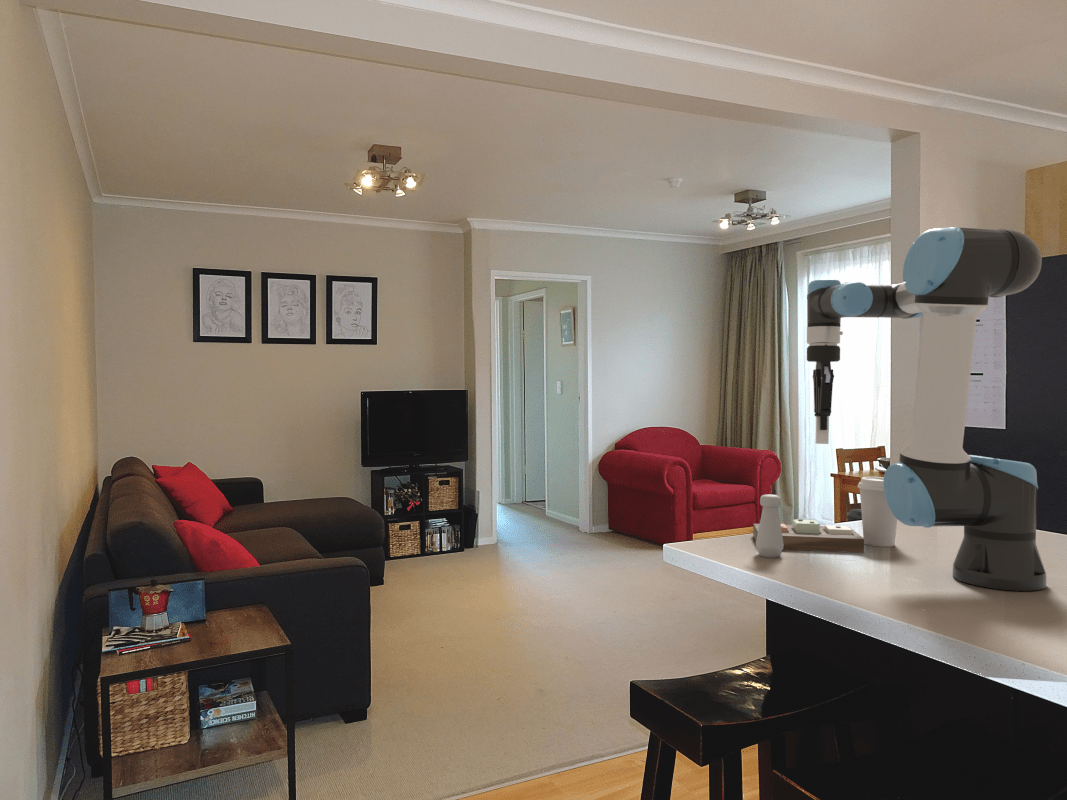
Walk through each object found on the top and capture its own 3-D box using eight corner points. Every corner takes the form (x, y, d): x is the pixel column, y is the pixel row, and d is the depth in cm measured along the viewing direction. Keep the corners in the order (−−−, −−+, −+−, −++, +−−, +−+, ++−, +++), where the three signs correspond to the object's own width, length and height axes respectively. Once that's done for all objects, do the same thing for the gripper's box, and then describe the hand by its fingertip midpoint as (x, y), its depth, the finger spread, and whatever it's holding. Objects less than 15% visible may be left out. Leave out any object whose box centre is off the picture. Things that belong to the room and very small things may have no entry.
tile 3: (787, 538, 178) (787, 526, 178) (764, 537, 179) (764, 525, 179) (784, 533, 183) (784, 522, 183) (761, 533, 184) (762, 522, 184)
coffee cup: (909, 548, 175) (910, 481, 175) (866, 548, 176) (867, 481, 175) (890, 540, 185) (892, 476, 185) (850, 539, 185) (851, 476, 185)
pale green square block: (819, 534, 177) (819, 523, 177) (796, 533, 178) (796, 522, 178) (815, 530, 182) (815, 519, 182) (793, 529, 183) (793, 518, 183)
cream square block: (852, 540, 176) (852, 529, 176) (828, 539, 177) (828, 528, 177) (847, 536, 181) (847, 525, 181) (824, 535, 182) (824, 524, 181)
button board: (864, 552, 171) (864, 538, 171) (759, 548, 175) (759, 534, 175) (849, 539, 185) (849, 527, 185) (753, 536, 189) (753, 523, 189)
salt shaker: (752, 556, 167) (753, 495, 166) (758, 551, 172) (759, 492, 171) (780, 559, 164) (781, 497, 163) (786, 554, 169) (786, 494, 169)
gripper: (845, 343, 181) (844, 446, 181) (834, 346, 193) (832, 441, 194) (811, 343, 182) (810, 445, 183) (802, 346, 195) (801, 441, 195)
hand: (822, 443), depth 188 cm, fingers closed
